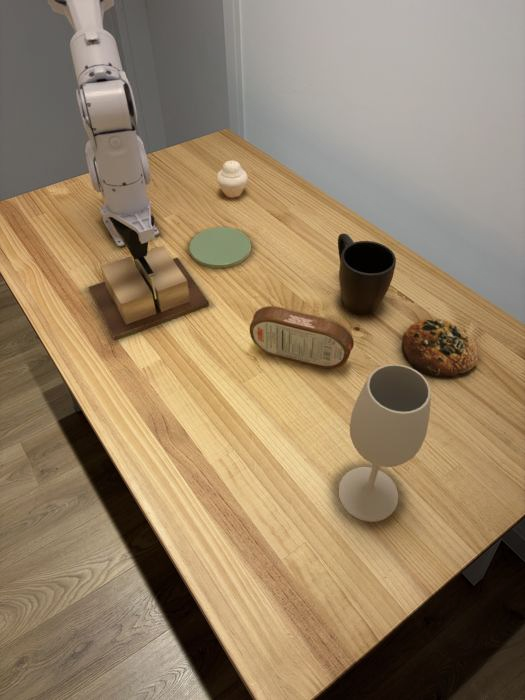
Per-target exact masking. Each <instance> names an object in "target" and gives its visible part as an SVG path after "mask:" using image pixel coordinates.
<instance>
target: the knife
mask: <svg viewBox="0 0 525 700" xmlns="http://www.w3.org/2000/svg"><path fill="white" fill-rule="evenodd" d="M112 224H113V223H112ZM113 226H114V225H113ZM114 228H115V227H114ZM116 231H117V230H116ZM117 233H118V231H117ZM118 234H119V233H118ZM119 236H120V238H121V239H122V241H123V243H124V244H126V243H125V241H124V239H123V237H122V236H121V235H120V234H119ZM132 258H133V257H132ZM132 260H133V262H134V264H135V266H136V267H137V269H138V271H139V272H140V274H141V276H142V277H143V279H144V280H145V282H146V284H147V285H148V287H149V289H150V290H151V292H152V295H153V297H154V298H155V299H157V296H156V291H155V286H154V281H153V277H152V276H155V275H154V272H153V270H152V269H151V267H150V266H149V264H148V262H147V261H146V259H145V258H144V257H141V258H138V259H134V258H133V259H132Z"/></svg>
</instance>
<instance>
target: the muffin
mask: <svg viewBox="0 0 525 700" xmlns="http://www.w3.org/2000/svg"><path fill="white" fill-rule="evenodd" d="M248 179H249V177H248V173H247V172H246V171H245V170H244V169H243V168H242V166H241V164H240V162H239V161H236V160H233V159H232V160H227V161H225V162H224V163H223V164H222V168H221V169H220V170H219V171H218V172H217V174H216V182H217V183H218V186H219V188H220V189H221V191H222V192H223V193H224V196H226V197H228V198H238V197H240V196H241V195H242V193H243V191H244V189H245V187H246V185H247V182H248Z"/></svg>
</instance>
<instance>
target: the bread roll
mask: <svg viewBox="0 0 525 700" xmlns="http://www.w3.org/2000/svg"><path fill="white" fill-rule="evenodd" d="M401 343H402V350H403V352H404V354H405V356H406V358H407V360H408V361H409V363H410V365H411V366H412V368H413V369H414V370H416V371H418V372H419V373H423V374H426V375H429V376H434V377H435V376H437V377H452V376H454V377H455V376H457V375H458V374H464V373H468V372H470V371H471V370H472V369H473V368H474V367H475V366H476V365H477V364H478V361H479V360H478V358H479V357H478V347H477V343H476V341H475V339H474V337H473V336H472V335H471V334H470V333H469V331H468V330H466V329H463V328H462V327H460V326H459V325H457V324H456V323H454V322H452V321H449V320H446V319H443V318H434V319H422V320H419V321H417V322H415V323H412V324H410V326H409V327H408V328H407V329H406V331H404V333H403V335H402V340H401Z"/></svg>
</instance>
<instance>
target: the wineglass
mask: <svg viewBox="0 0 525 700" xmlns="http://www.w3.org/2000/svg"><path fill="white" fill-rule="evenodd" d="M430 386H431V385H430V383H429V382H428V380H427V379H426V378H425V377H424V375H423V374H422V373H421V372H420V371H418V370H416V369H415V368H413V367H410V366H407V365H404V364H398V363H390V364H385V365H381V366H379V367H377V368H375V369H374V370H373V371H372V372H371V373H370V374H369V375H368V378H367V379H366V381H365V383H364V385H363V387H362V388H361V390H360V392H359V394H358V396H357V398H356V400H355V403H354V406H353V408H352V411H351V416H350V421H349V436H350V440H351V443H352V445H353V447H354V449H355V451H357V453H358V455H360V456H361V457H362V458H363V459H364V460H365V461H367V462H369V463H370V464H372V467H370V466H358V467H355V468H353V469H350V470H349V471H347V472H346V473H345V474H344V475H343V476H342V478H341V480H340V481H339V485H338V498H339V501H340V504H341V506H342V507H343V508H344V510H345V511H346V512H347V513H348V514H349V515H351V516H352V517H354V518H355V519H358V520H360V521H363V522H367V523H376V522H380V521H383V520H385V519H388V517H390V516H391V515H392V514H394V512H395V511H396V508H397V506H398V502H399V492H398V489H397V486H396V483H395V482H394V481H393V479H392V478H391V477H390V476H389V475H388V474H387V473H385V472H384V471H382V470H380V467H382V468H383V467H384V468H395V467H398V466H401V465H404V464H405V463H407V462H408V461H411V460H412V459H414V458H415V456H416V455H417V454H418V453H419V451H420V450H421V448H422V446H423V444H424V441H425V439H426V437H427V433H428V428H429V423H430V422H429V421H430V416H431V415H430V414H431V403H432V401H431V400H432V392H431V387H430Z"/></svg>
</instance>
